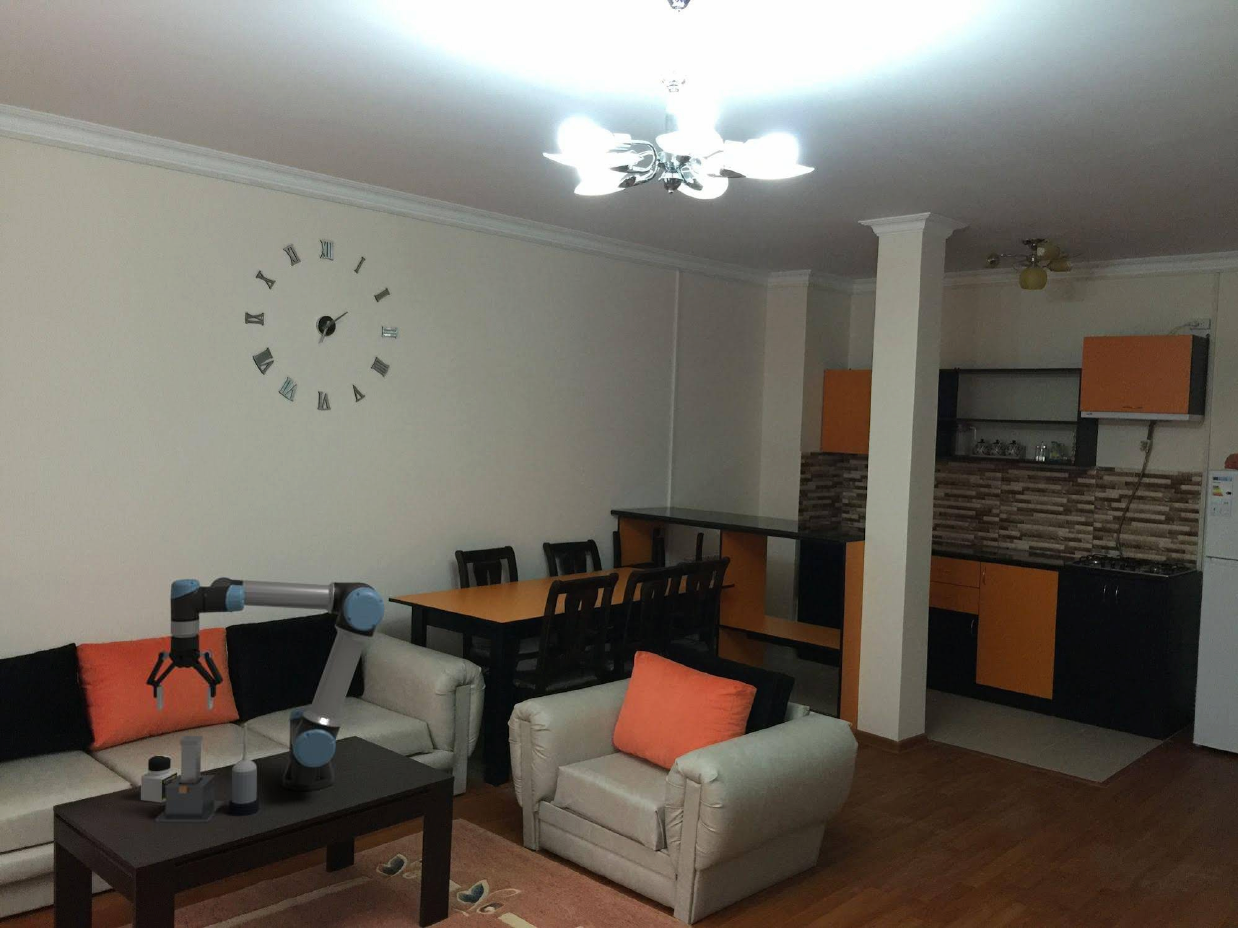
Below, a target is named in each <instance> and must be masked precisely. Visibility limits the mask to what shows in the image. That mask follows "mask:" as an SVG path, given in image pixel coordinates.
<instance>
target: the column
mask: <svg viewBox="0 0 1238 928" xmlns="http://www.w3.org/2000/svg"><path fill="white" fill-rule="evenodd" d="M202 741H203V735H185V736H184V737H182V739H180V741H179V745H180V746H181V749H180V750H181V756H180V757H181V761H180V775H181V784H190V785H197V784H198V783H199V782H200V775H201V771H202V770H201V767H202V766H201V764H202V763H201V757H202V755H201V754H202V750H201V749H202Z"/></svg>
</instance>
